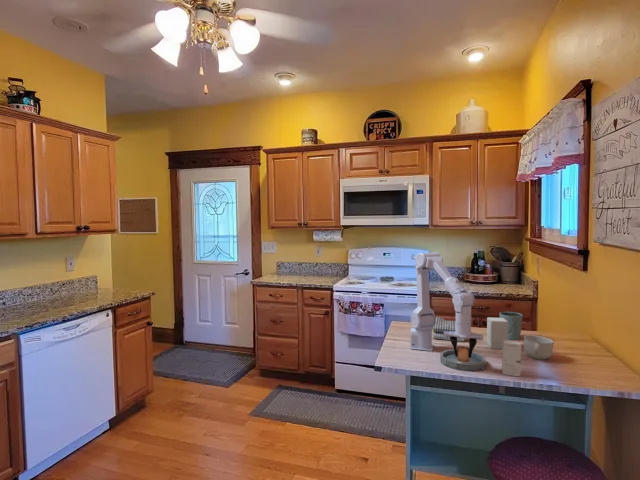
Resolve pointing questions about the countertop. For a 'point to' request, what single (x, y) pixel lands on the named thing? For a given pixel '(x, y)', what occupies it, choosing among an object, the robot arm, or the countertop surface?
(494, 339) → the supplement box
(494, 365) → the countertop surface
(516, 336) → the green plant pot
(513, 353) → the skincare box
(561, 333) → the countertop surface
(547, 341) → the teacup
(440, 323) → the towel
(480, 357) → the groove tray
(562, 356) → the countertop surface
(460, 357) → the bead
